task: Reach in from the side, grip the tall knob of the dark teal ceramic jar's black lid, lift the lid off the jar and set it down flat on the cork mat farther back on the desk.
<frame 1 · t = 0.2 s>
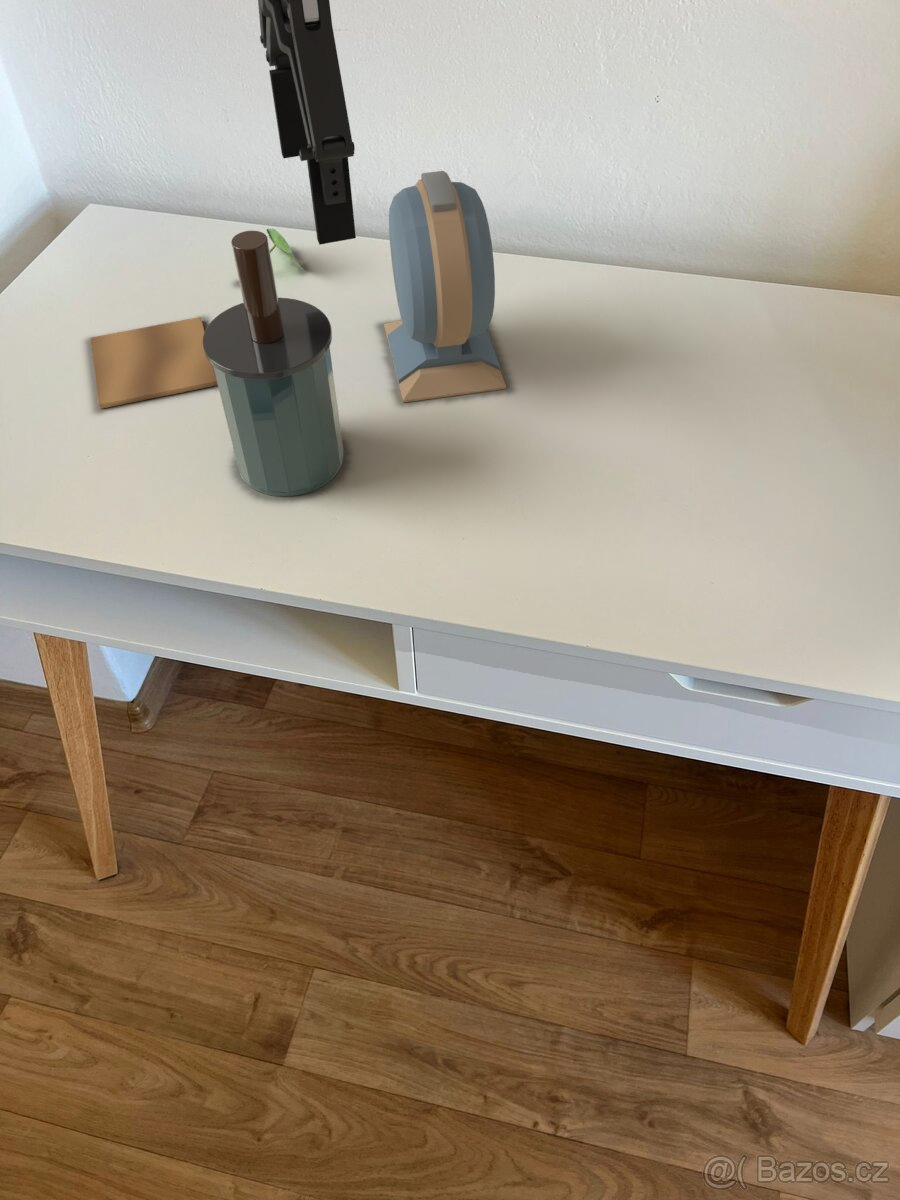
hand: (316, 194, 77), 21 cm above the table, tool pointing down, fingers open, 13 cm apart
alarm clock: (443, 357, 98), on the table
mat: (153, 363, 98), on the table
lid: (268, 340, 79), point 12 cm above the table, touching jar
seedling: (271, 268, 108), on the table
jar: (290, 460, 88), on the table
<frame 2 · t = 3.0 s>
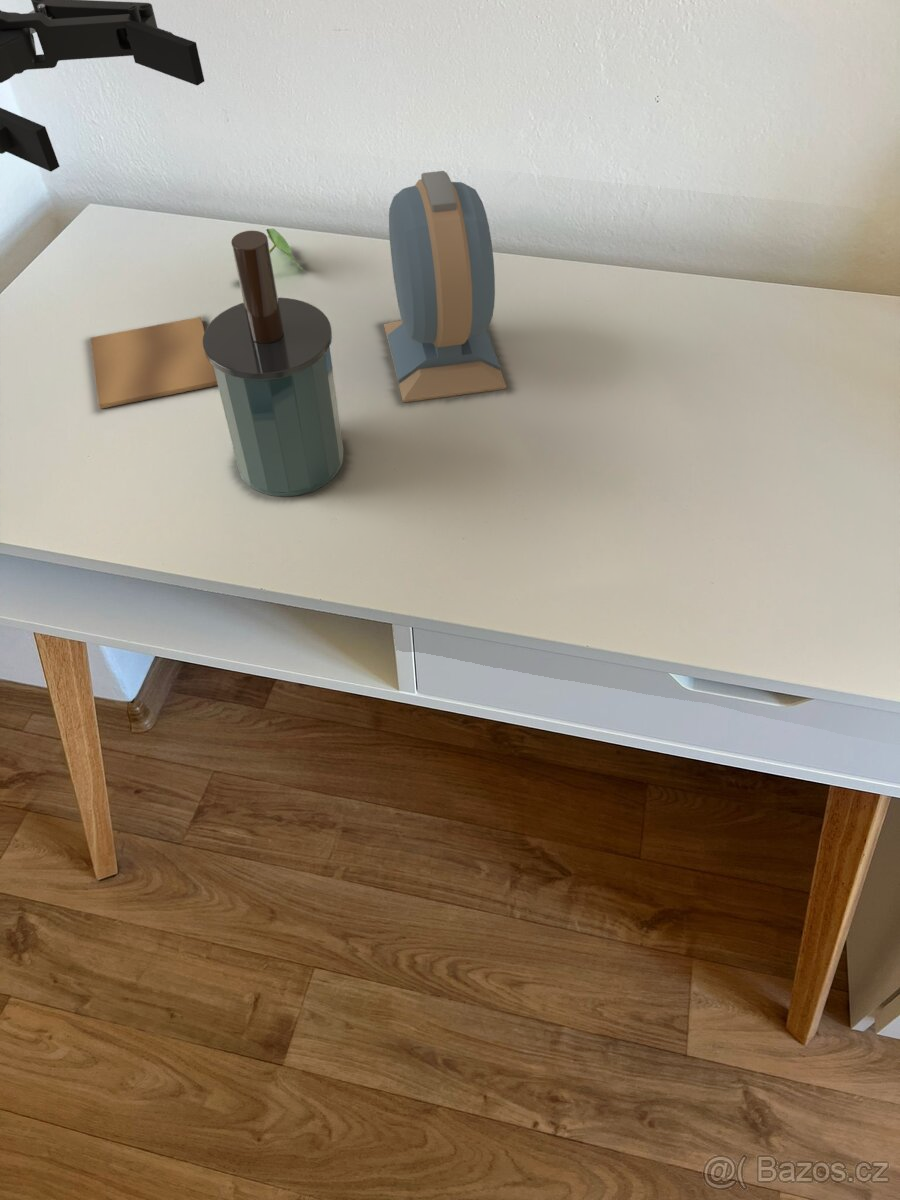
hand: (126, 105, 68), 29 cm above the table, tool horizontal, fingers open, 13 cm apart
nothing on the table moved.
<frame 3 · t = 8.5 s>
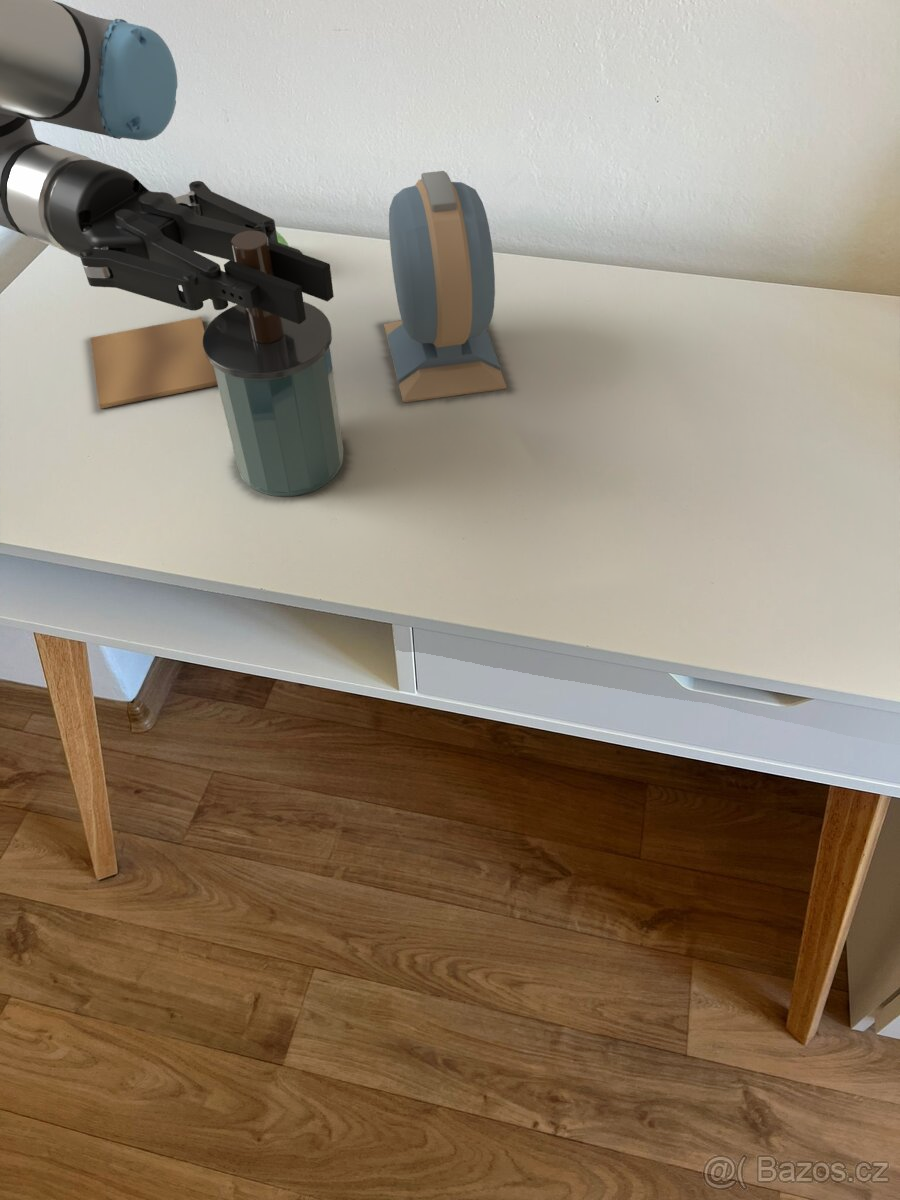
hand: (314, 293, 72), 19 cm above the table, tool horizontal, fingers closed on lid, 3 cm apart
lid: (268, 340, 79), point 13 cm above the table, touching gripper
everything else where it was.
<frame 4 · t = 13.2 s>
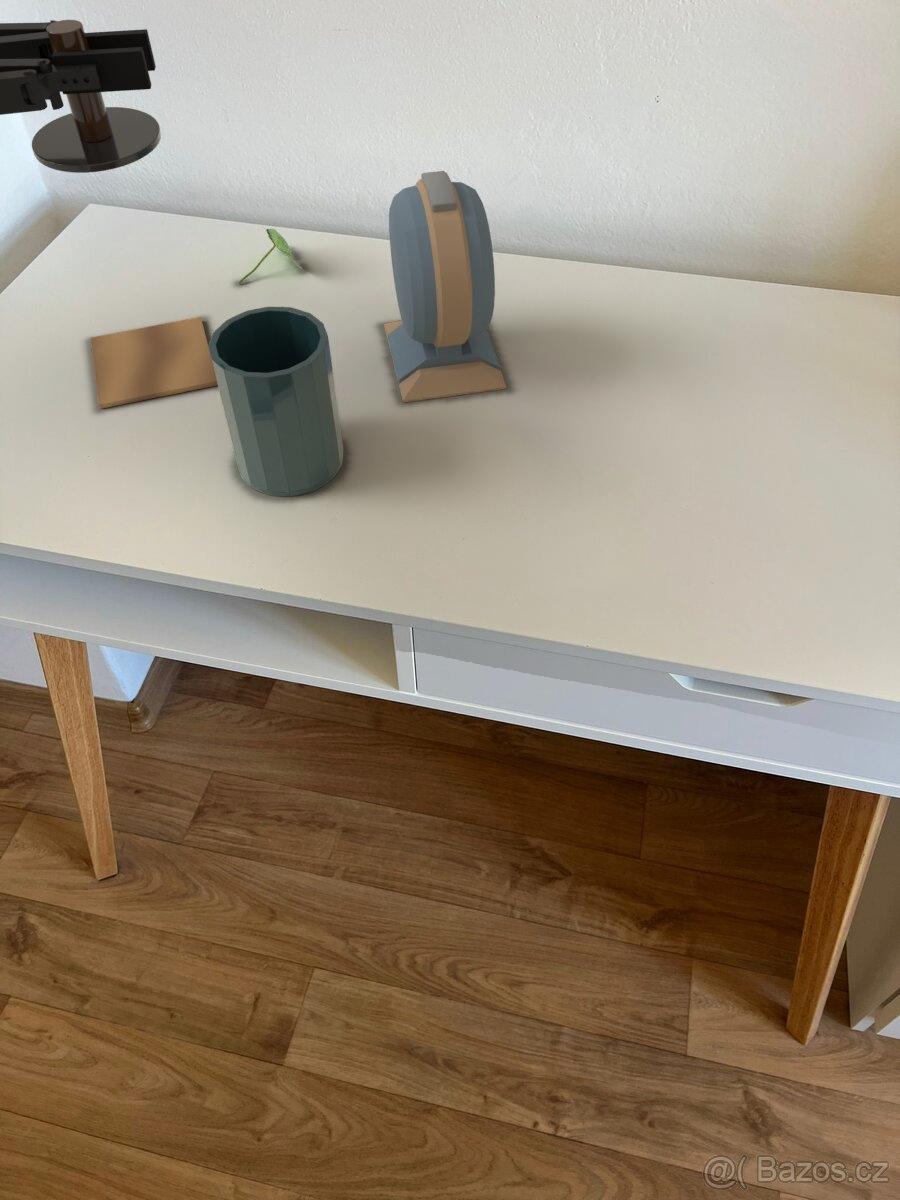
hand: (148, 59, 76), 28 cm above the table, tool horizontal, fingers closed on lid, 3 cm apart
lid: (98, 142, 80), point 22 cm above the table, touching gripper
everything else where it was.
when the fingers open (7 cm above the table, at t = 18.3 s): lid stays where it is, resting on mat.
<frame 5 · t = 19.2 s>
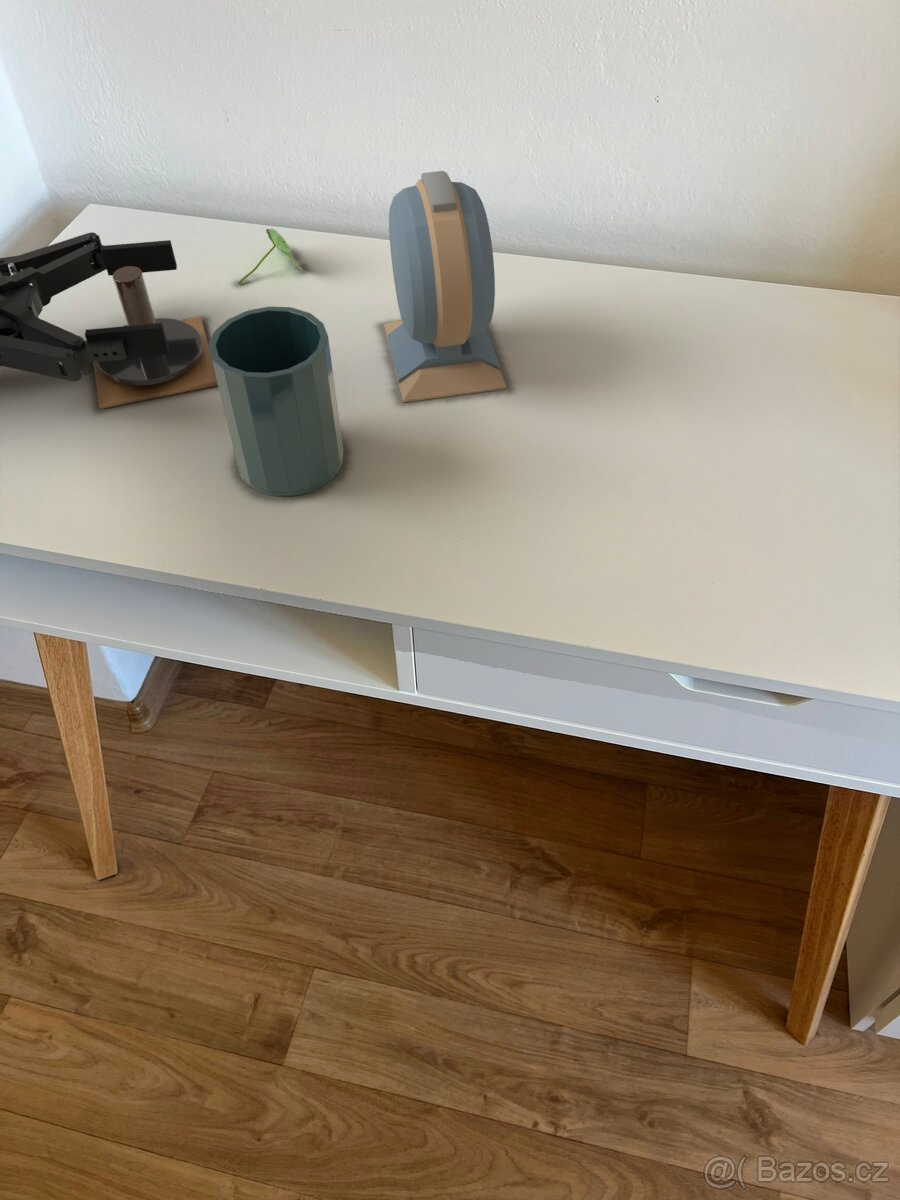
hand: (170, 294, 92), 7 cm above the table, tool horizontal, fingers open, 13 cm apart
lid: (150, 353, 97), point 1 cm above the table, touching mat
everything else where it was.
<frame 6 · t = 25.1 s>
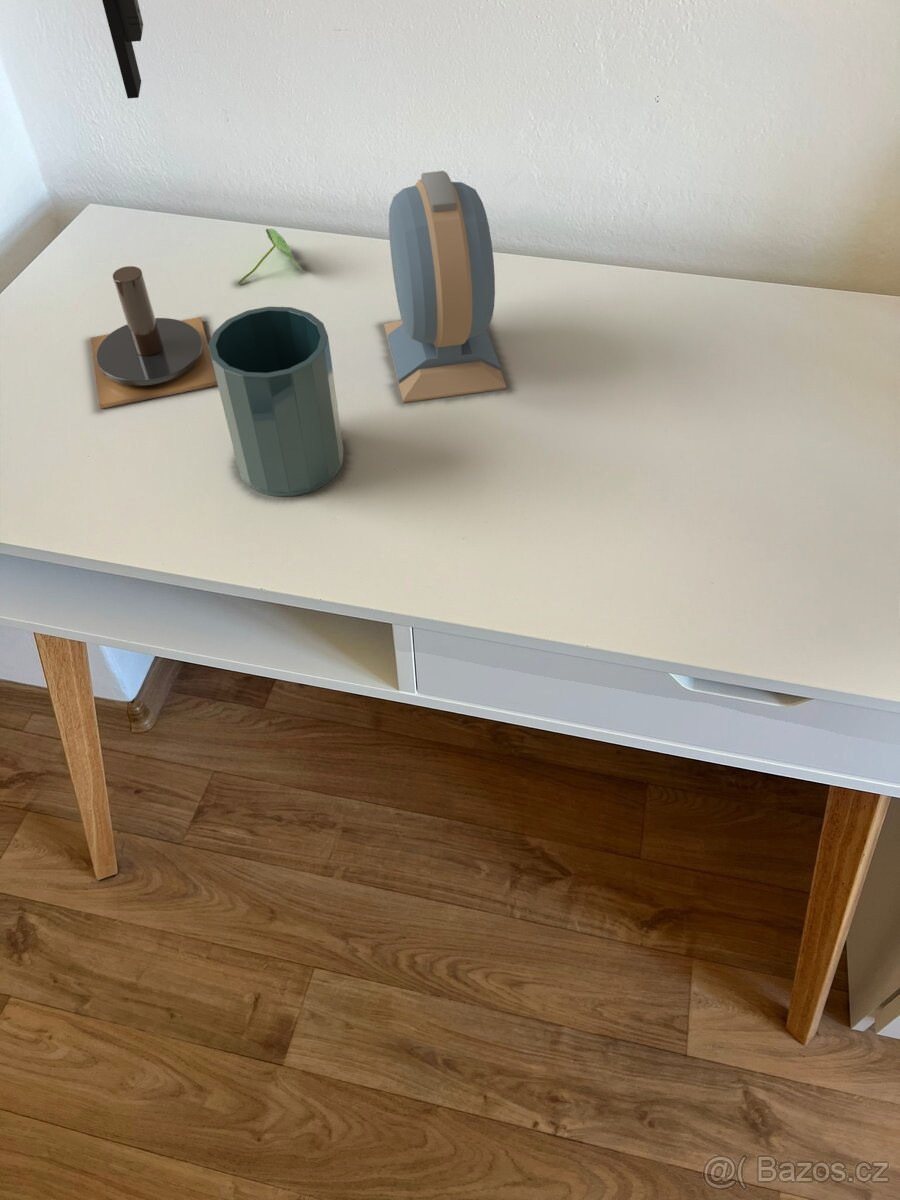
hand: (36, 97, 70), 29 cm above the table, tool pointing down, fingers open, 13 cm apart
nothing on the table moved.
at the end: lid inside the target area on the mat (0.0 cm from its centre), point 1.1 cm above the mat's base; lid tilted 0°; the gripper is holding nothing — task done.
